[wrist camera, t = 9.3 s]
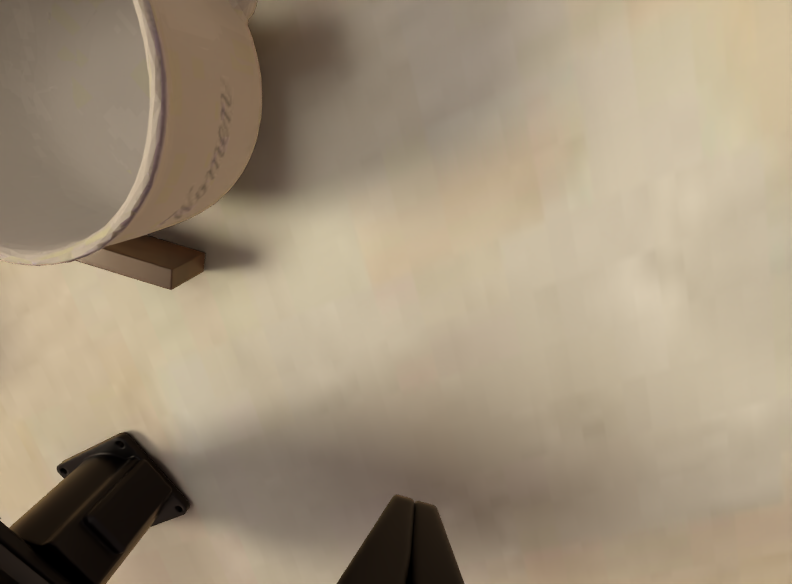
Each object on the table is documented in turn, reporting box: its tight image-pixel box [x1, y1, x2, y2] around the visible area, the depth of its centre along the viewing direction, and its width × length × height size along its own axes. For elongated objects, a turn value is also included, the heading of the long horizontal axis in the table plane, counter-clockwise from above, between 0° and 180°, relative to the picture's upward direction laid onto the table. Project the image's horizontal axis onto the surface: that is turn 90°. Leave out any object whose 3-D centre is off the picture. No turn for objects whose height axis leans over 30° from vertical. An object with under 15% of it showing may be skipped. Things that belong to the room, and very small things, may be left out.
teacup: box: [0, 0, 262, 266], centre depth 13 cm, size 14×11×8 cm
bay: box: [75, 235, 205, 290], centre depth 16 cm, size 11×19×2 cm, turn 165°
